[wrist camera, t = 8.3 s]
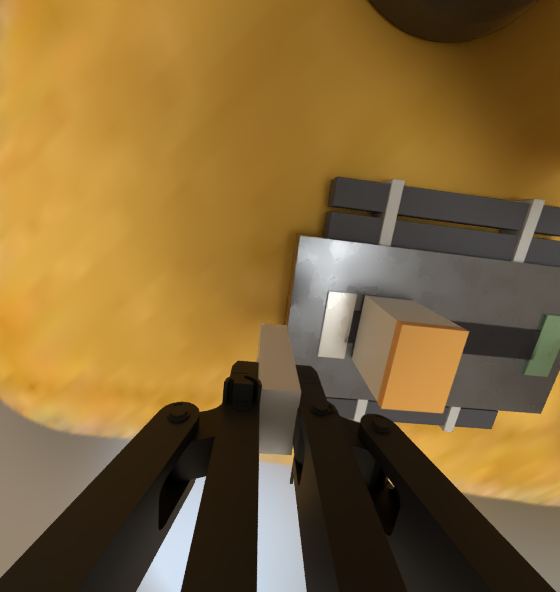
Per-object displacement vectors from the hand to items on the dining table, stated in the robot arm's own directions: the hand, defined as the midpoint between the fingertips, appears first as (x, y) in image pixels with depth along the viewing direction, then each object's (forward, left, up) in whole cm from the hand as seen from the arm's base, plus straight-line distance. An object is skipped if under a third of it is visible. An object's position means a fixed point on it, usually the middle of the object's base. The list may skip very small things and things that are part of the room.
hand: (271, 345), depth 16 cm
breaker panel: (0, +12, -6) cm, 14 cm away
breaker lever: (0, +8, -4) cm, 9 cm away
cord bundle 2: (+7, +12, -6) cm, 16 cm away
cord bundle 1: (-8, +12, -6) cm, 16 cm away
